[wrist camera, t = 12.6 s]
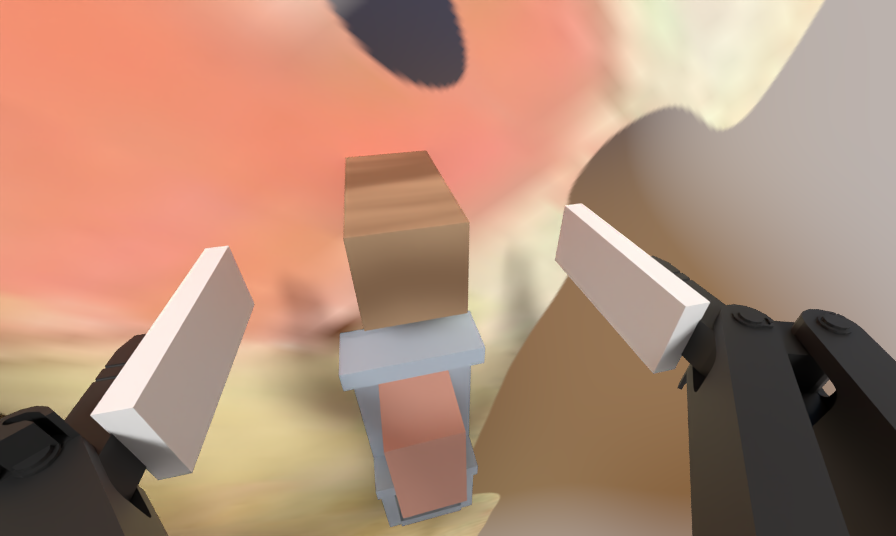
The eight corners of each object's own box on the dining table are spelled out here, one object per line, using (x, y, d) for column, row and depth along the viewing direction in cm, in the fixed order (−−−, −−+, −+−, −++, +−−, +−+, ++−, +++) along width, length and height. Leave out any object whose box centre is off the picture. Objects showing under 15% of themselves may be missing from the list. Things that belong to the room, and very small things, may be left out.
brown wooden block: (345, 157, 17) (343, 238, 11) (426, 150, 18) (469, 221, 11) (359, 229, 19) (364, 331, 13) (429, 220, 20) (467, 313, 14)
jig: (339, 333, 23) (338, 375, 20) (469, 310, 25) (485, 347, 22) (388, 503, 39) (391, 540, 36) (465, 483, 40) (474, 517, 38)
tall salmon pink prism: (377, 371, 25) (383, 452, 20) (444, 356, 26) (465, 431, 21) (394, 442, 31) (403, 518, 26) (449, 429, 32) (466, 500, 27)
